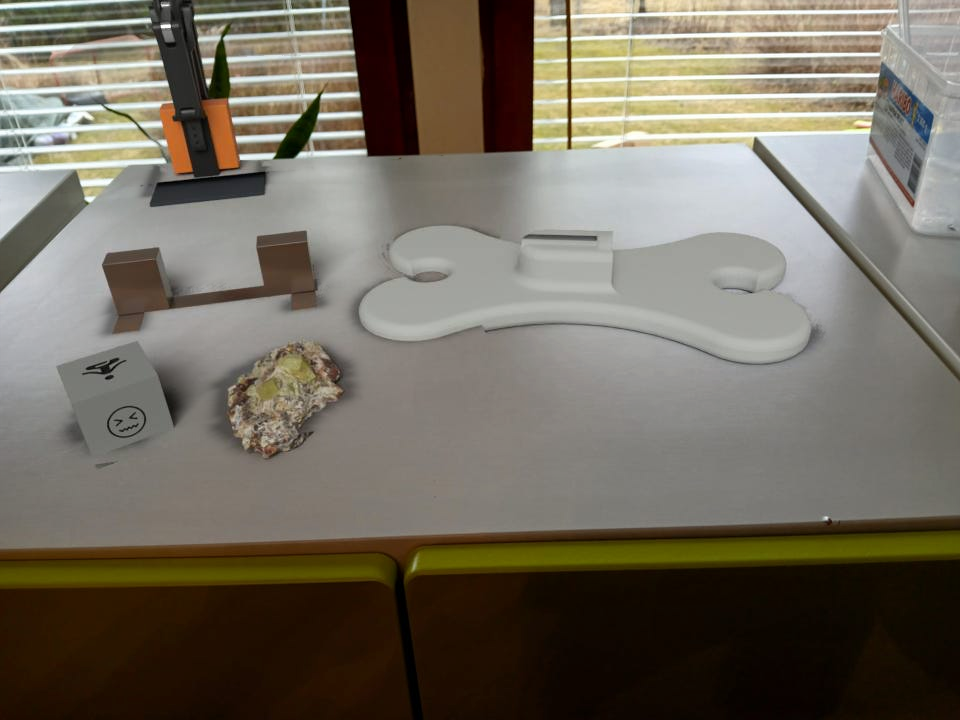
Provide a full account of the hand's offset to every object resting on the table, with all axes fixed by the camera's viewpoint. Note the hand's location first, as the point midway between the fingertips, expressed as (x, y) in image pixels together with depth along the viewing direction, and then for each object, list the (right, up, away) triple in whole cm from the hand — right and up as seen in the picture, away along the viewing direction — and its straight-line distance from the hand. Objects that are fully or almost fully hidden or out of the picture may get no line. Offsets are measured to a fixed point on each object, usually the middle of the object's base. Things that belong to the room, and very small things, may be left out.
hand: (208, 170), depth 90 cm
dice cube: (+8, -27, -38) cm, 47 cm away
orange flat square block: (0, 0, 0) cm, 0 cm away
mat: (0, -1, +1) cm, 1 cm away
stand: (+9, -17, -24) cm, 31 cm away
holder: (+39, -16, -25) cm, 49 cm away
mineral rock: (+18, -25, -37) cm, 48 cm away
